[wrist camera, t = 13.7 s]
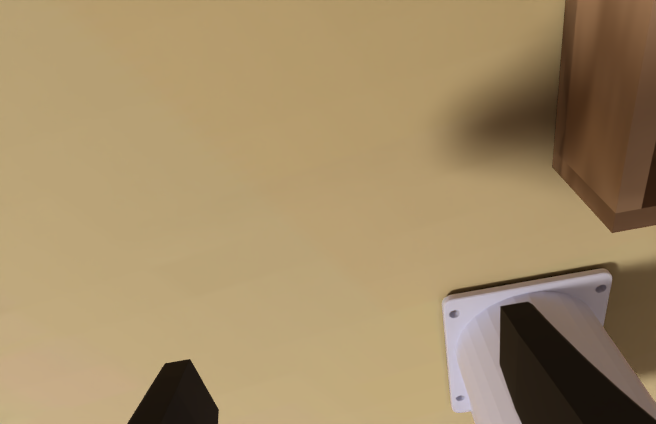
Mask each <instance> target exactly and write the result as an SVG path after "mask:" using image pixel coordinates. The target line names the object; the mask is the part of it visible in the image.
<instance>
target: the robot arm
mask: <svg viewBox="0 0 656 424" xmlns="http://www.w3.org/2000/svg"><path fill="white" fill-rule="evenodd" d="M612 279H613V278H612V275H611V274H610V272H609V271H608V270H607V269H604V268H601V269H594V270H588V271H583V272H577V273H571V274H566V275H560V276H554V277H549V278H543V279H537V280H532V281H526V282H520V283H515V284H509V285H503V286H498V287H492V288H486V289H481V290H475V291H469V292H464V293H458V294H452V295H449V296H447V297H445V298H444V299H443V301H442V311H443V322H444V333H445V344H446V355H447V367H448V378H449V389H450V400H451V406H452V409H453V411H454V412H457V413H462V412H469V411H471V413H472V416H473V419H474V422H475V424H656V402H655V401H654V400H653V398H652V397H651V395H650V394H649V392H648V391H647V389H646V388H645V387H644V385H643V384H642V382H641V381H640V379H639V378H638V377H637V375H636V374H635V372H634V371H633V369H632V368H631V366H630V365H629V364H628V362H627V361H626V359H625V358H624V356H623V355H622V353H621V352H620V351H619V349H618V348H617V346H616V345H615V343H614V342H613V340H612V339H611V338H610V336H609V335H608V333H607V332H606V330H605V329H604V327H603V326H604V321H605V315H606V310H607V305H608V300H609V294H610V289H611V284H612ZM454 310H456V311H454ZM451 311H454V312H451ZM218 411H219V410H218V408H217V406H216V404H215V402H214V401H213V399H212V397H211V395H210V394H209V392H208V390H207V388H206V387H205V385H204V383H203V381H202V379H201V378H200V376H199V374H198V372H197V371H196V369H195V367H194V365H193V363H192V362H191V360H190V359H189V360H183V361H177V362H171V363H165V365H164V366H163V367H162V369H161V371H160V372H159V374H158V375H157V377H156V378H155V380H154V382H153V383H152V385H151V386H150V388H149V390H148V391H147V393H146V395H145V396H144V398H143V399H142V401H141V403H140V404H139V406H138V407H137V409H136V411H135V412H134V414H133V415H132V417H131V419H130V420H129V422H128V423H127V424H218Z"/></svg>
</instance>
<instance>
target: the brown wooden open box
mask: <svg viewBox="0 0 656 424" xmlns="http://www.w3.org/2000/svg"><path fill="white" fill-rule="evenodd" d="M552 167H553V168H554V170H555V171H556V172H557V173H558V174H559V175H560V176H561V177H562V178H563V179H564V181H565V182H566V183H567V184H568V185H569V186H570V187H571V188H572V189H573V190H574V192H575V193H576V194H577V195H578V196H579V197H580V198H581V199H582V200H583V201H584V202H585V204H586V205H587V206H588V207H589V208H590V209H591V210H592V211H593V212H594V213H595V215H596V216H597V217H598V218H599V219H600V220H601V221H602V222H603V223H604V224H605V226H606V227H607V228H608V229H609V230H610V231H611V232H612V233H614V232H620V231H625V230H631V229H636V228H642V227H647V226H653V225H656V0H566V1H565V14H564V26H563V39H562V51H561V64H560V77H559V89H558V102H557V114H556V127H555V140H554V152H553V165H552Z"/></svg>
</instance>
